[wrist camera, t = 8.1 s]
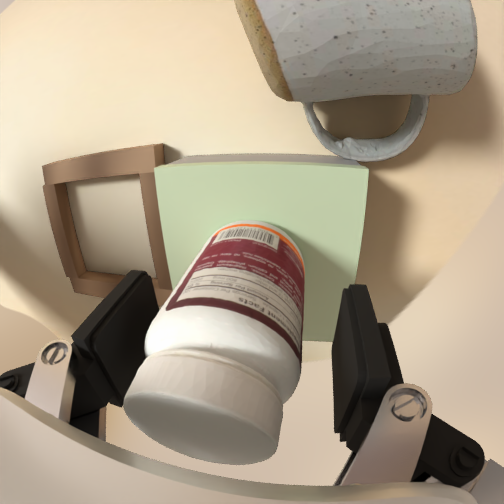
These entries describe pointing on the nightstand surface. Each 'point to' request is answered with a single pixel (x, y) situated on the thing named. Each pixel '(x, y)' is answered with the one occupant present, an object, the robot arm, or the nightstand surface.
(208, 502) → the robot arm
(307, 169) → the green square block
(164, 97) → the nightstand surface
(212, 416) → the pill bottle
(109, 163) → the base
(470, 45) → the ceramic mug
